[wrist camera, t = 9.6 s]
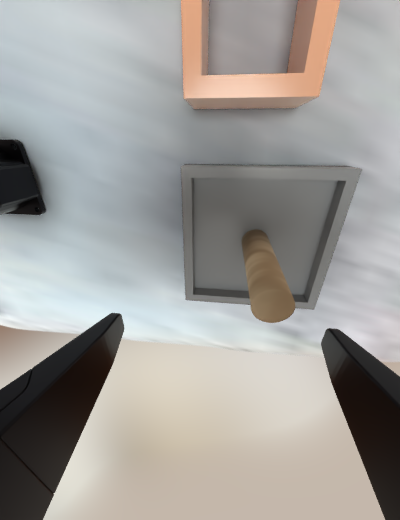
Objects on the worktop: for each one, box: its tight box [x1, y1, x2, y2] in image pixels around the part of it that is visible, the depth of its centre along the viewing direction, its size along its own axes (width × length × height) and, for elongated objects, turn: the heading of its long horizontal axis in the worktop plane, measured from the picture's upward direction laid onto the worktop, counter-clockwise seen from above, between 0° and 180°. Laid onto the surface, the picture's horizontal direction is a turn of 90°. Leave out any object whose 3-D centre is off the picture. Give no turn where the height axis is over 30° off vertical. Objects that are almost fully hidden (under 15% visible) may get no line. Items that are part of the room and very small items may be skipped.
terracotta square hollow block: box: [181, 0, 340, 109], centre depth 12 cm, size 7×7×4 cm
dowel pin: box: [242, 229, 295, 323], centre depth 16 cm, size 2×2×9 cm
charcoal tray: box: [181, 164, 362, 310], centre depth 20 cm, size 13×13×2 cm
